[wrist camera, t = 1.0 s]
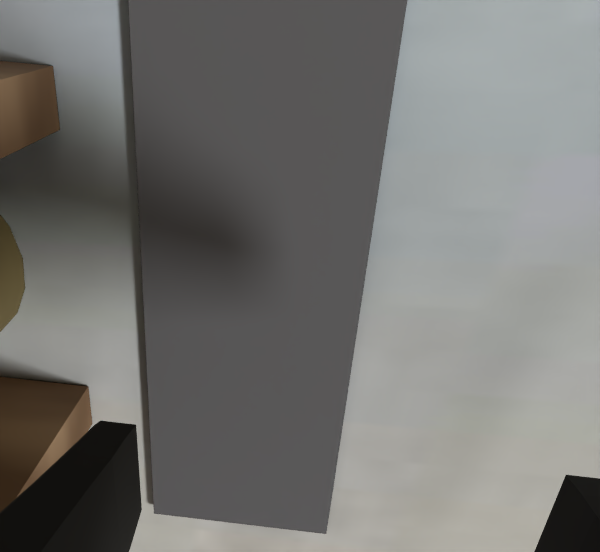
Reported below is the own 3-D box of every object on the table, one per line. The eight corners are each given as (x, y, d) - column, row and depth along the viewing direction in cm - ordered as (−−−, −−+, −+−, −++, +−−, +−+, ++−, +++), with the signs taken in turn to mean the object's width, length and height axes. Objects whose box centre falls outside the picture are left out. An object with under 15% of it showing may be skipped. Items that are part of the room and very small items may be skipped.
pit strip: (326, 526, 20) (325, 534, 20) (156, 506, 20) (154, 513, 20) (417, -78, 12) (418, -79, 11) (128, -103, 12) (123, -105, 12)
